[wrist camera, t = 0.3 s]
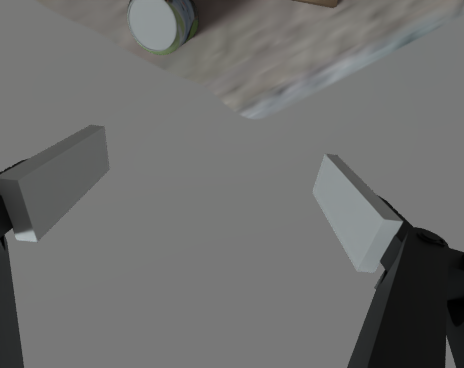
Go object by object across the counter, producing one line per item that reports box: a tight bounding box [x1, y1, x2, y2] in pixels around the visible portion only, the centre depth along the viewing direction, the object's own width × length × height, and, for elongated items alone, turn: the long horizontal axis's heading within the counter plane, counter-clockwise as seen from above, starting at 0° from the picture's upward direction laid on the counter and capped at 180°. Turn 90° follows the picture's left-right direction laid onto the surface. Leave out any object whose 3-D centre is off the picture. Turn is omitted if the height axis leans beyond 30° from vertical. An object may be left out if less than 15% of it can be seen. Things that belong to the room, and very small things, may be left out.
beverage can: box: [127, 0, 199, 55], centre depth 29 cm, size 6×7×12 cm
